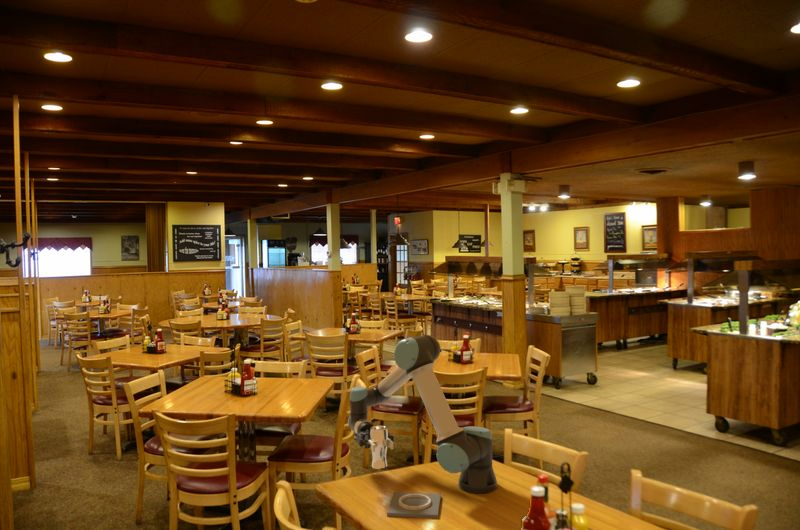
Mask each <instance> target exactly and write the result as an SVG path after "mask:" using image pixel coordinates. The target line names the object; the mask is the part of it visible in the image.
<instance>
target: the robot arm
mask: <svg viewBox="0 0 800 530" xmlns="http://www.w3.org/2000/svg"><path fill="white" fill-rule="evenodd" d="M440 355H441V345H440V342H439V341H438V339H437V338H436V337H434V336H432V335H429V334H421V335H419V336H418V335H417V336H412V337H407V338H404V339H402V340H400V341H398V342H397V344H396V346H395V347H394V351H393V357H394V362H395V364H396V367H395V368H394V369H393V370H392V371H391V372H390V373H388V375H386V376H385V377H384V378H382V380H381V381H379V383H378V384H376V385H375V386H374V387H371V388H368V389H367V388H366V387H365V386H355V387H352V388H351V389H350V391H349V392H350V393H349V408H350V411H349V413H350V414H349V416H348V419H347V424H348V427H349V428H350V430H351V431H352V432H354V433H353V434H354V436H353V437H354V441H356V443H357V444H358V446H359V447H361V448H362V447H364V449H369V450H371V452H372V451H373V452H375V444H374V443H373V442H371V441H370V431H371V427H373V426H375V425H374V424H373V423H372V422H371V421H369V419H368V408H371V407H373V406H377V405H380V404H381V405H382V404H384V403H386V402H388V401H390V399H391V398H392V395H393V394H395V392H396V391H398V390H399V389H400V388H402V386H404V384H406V383H407V382H408V381H410V379H412V380H413V382H414V384H415V387H416V389H417V390H418V393H419V395H420V397H421V400H422V403H423V405H424V406H425V409H426V411H427V414H428V416H429V418H430V420H431V423H432V425H433V428H434V431H436V432H435V433H436V435H437V438H436V441H435V442H436V444H437V447H438V448H437V449H436V454H435V455H436V459H437V463H438V464H439V466H440V467H441V468H442V469H443V470H444V471H446V472H448V473H449V474H459V473H460V474H459V478H458V487H459V488H460V489H461V490H463V491H465V492H468V493H473V494H487V493H491V492H493V491H495V490H496V489H497V488H498V480H497V477H496V474H495V471H494V469H493V433H492V431H491V430H490V429H488V428H485V427H482V426H481V427H480V426H470V425H469V426H464V427H463V428H462V427H461V426H460V427H459V425H458V423H457V421H456V418H455V417H454V414H453V412H452V410H451V407H450V405H449V403H448V400H447V398H446V397H445V394H444V391H443V390H442V386H441V385H440V383H439V380H438V379H437V375H436V374H435V372H434V365H435V362H436V361H437V359H438V358H439V357H440ZM394 437H395V436H394V435H393V434H392V433H389V432H388V446H387V448H389V449H390V450H391V451H392V450H394V443H395V440H394Z"/></svg>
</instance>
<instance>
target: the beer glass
mask: <svg viewBox="0 0 800 530" xmlns="http://www.w3.org/2000/svg"><path fill="white" fill-rule="evenodd" d="M388 433H389V432H388V426H385V425H374V426H373V427H371V431H370V441H371V442H373V443H374V444H375V452H373V451H372V450H371V456H372V462H371V467H372V469H374V470H375V469H376V470H383V469H386V468H387V467H388V461H387V450H388Z"/></svg>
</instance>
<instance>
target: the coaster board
mask: <svg viewBox="0 0 800 530" xmlns="http://www.w3.org/2000/svg"><path fill="white" fill-rule="evenodd" d="M441 497H442V495H441V493H429V492H428V493H427V492H426V493H424V492H405V491H404V492H401V491H394V492H393V493H392V497H391V500H390V503H389V505H388V508H387V511H386V516H387V517H397V518H398V517H399V518H423V519H438V518H439V511H440V504H441V499H442V498H441Z"/></svg>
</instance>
